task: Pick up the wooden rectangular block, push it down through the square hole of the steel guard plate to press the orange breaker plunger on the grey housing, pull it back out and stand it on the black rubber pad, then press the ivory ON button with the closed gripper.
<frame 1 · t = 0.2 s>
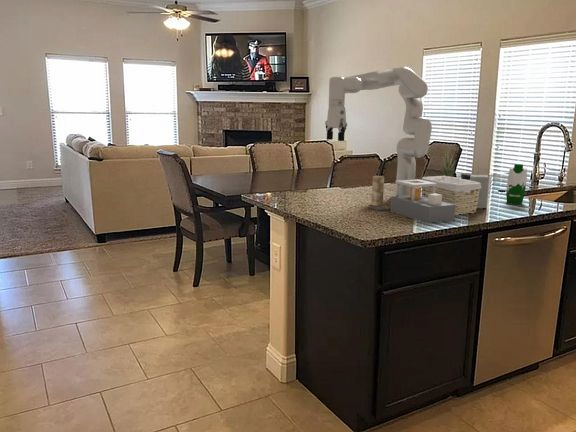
hand: (335, 140, 244), 31 cm above the counter, tool pointing down, fingers open, 9 cm apart
grey housing: (421, 215, 225), on the counter
on button: (434, 202, 217), point 8 cm above the counter, slide at 0.0 cm
breaker plunger: (415, 196, 228), point 8 cm above the counter, slide at 0.0 cm
skincare box: (476, 207, 247), on the counter
potted plant: (445, 189, 301), on the counter
wooden rectangular block: (376, 205, 248), on the counter
milk carton: (514, 203, 260), on the counter
storage basket: (447, 210, 239), on the counter
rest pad: (379, 209, 238), on the counter
supplement container: (468, 196, 280), on the counter
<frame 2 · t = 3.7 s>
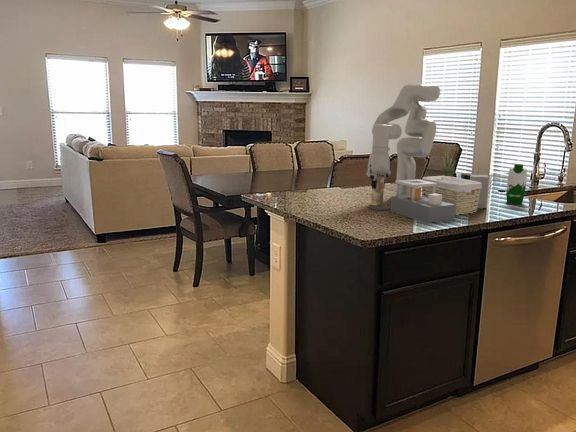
hand: (377, 187, 246), 9 cm above the counter, tool pointing down, fingers closed on wooden rectangular block, 4 cm apart
wooden rectangular block: (376, 205, 248), on the counter, touching gripper
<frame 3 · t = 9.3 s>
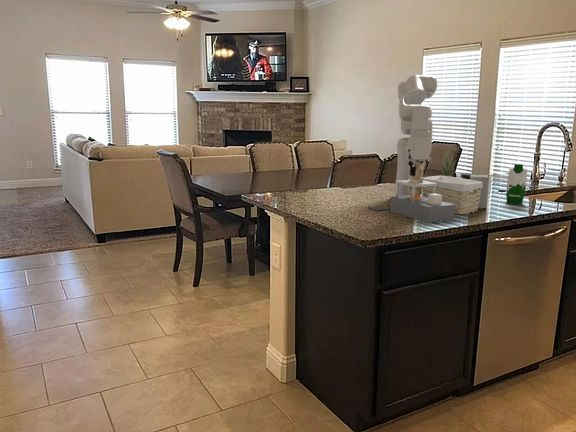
hand: (416, 175, 226), 18 cm above the counter, tool pointing down, fingers closed on wooden rectangular block, 4 cm apart
breaker plunger: (414, 202, 229), point 5 cm above the counter, slide at 2.9 cm
wooden rectangular block: (415, 193, 228), point 9 cm above the counter, touching gripper
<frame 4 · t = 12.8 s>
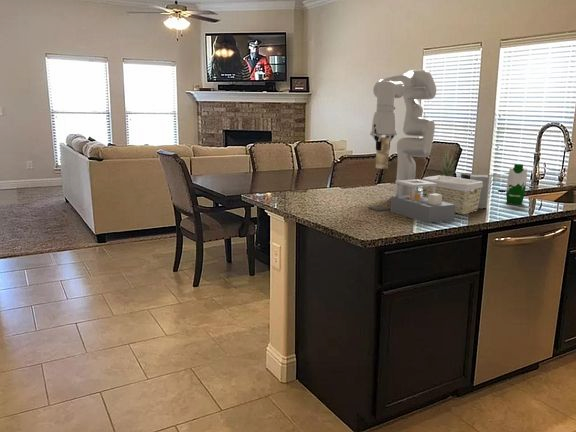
hand: (382, 149, 232), 28 cm above the counter, tool pointing down, fingers closed on wooden rectangular block, 4 cm apart
wooden rectangular block: (381, 168, 234), point 19 cm above the counter, touching gripper
when the fingers open (11 cm above the counter, at t = 16.1 s): wooden rectangular block drops 1 cm, resting on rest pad.
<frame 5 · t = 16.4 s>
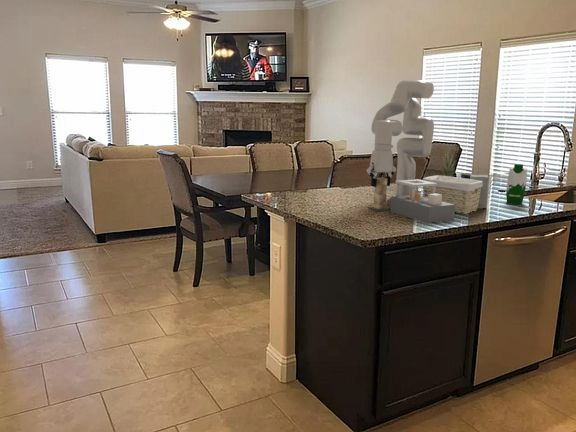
hand: (380, 185, 236), 11 cm above the counter, tool pointing down, fingers open, 7 cm apart
wooden rectangular block: (379, 207, 238), point 1 cm above the counter, touching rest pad
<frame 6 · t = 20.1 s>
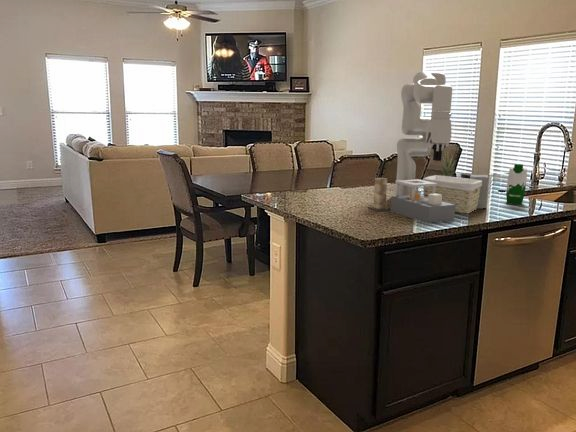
hand: (437, 160, 213), 25 cm above the counter, tool pointing down, fingers closed
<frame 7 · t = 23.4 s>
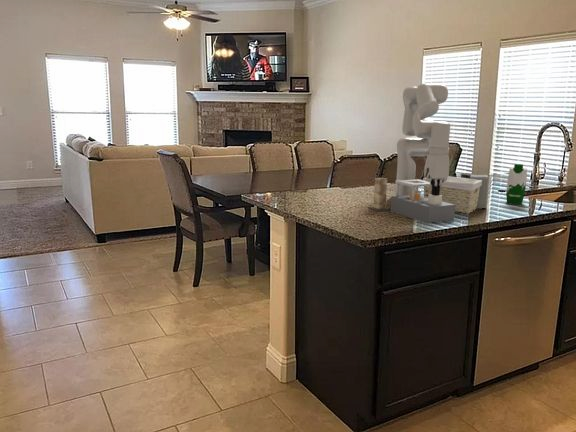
hand: (435, 195, 216), 11 cm above the counter, tool pointing down, fingers closed
on button: (434, 203, 217), point 7 cm above the counter, slide at 0.3 cm, touching gripper
skincare box: (476, 207, 247), on the counter, touching storage basket
storage basket: (450, 209, 242), on the counter, touching skincare box
everything else where it was.
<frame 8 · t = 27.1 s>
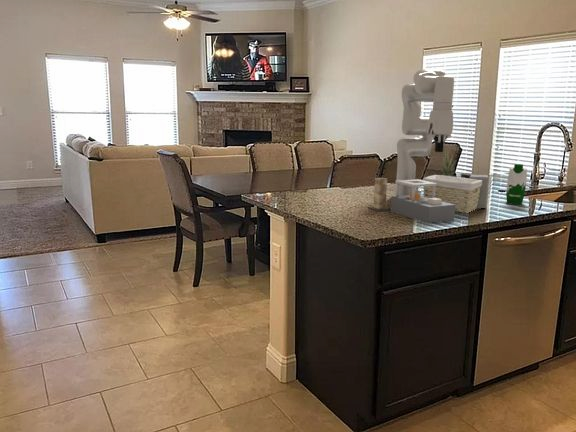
hand: (438, 151, 212), 29 cm above the counter, tool pointing down, fingers closed
on button: (434, 206, 217), point 6 cm above the counter, slide at 1.9 cm
skincare box: (476, 207, 247), on the counter
storage basket: (449, 209, 243), on the counter
everything else where it was.
at the end: breaker plunger slide at 3.0 cm; on button slide at 1.9 cm; wooden rectangular block inside the target area on the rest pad (0.1 cm from its centre), point 0.6 cm above the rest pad's base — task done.
